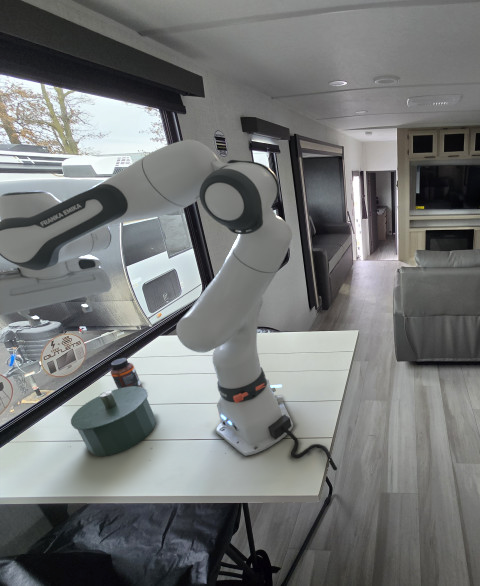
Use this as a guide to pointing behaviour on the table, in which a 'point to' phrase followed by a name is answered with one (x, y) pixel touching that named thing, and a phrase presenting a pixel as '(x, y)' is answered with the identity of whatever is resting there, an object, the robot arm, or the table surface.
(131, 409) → the tin lid
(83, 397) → the table surface
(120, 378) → the supplement bottle
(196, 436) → the table surface
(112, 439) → the waste tin
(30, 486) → the table surface
